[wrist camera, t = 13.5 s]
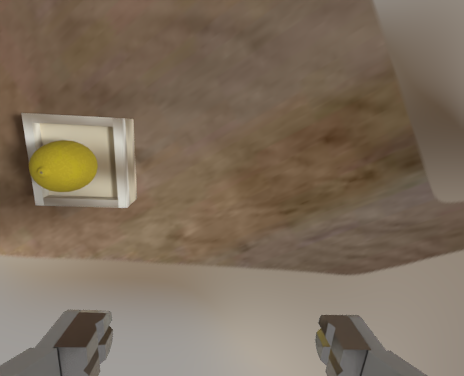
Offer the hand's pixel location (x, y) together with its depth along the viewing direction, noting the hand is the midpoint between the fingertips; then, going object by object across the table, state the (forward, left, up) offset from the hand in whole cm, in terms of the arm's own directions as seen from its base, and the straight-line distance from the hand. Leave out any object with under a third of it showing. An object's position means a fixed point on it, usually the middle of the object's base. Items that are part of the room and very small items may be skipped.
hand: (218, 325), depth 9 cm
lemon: (-2, -17, -24) cm, 29 cm away
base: (-2, -17, -26) cm, 31 cm away
